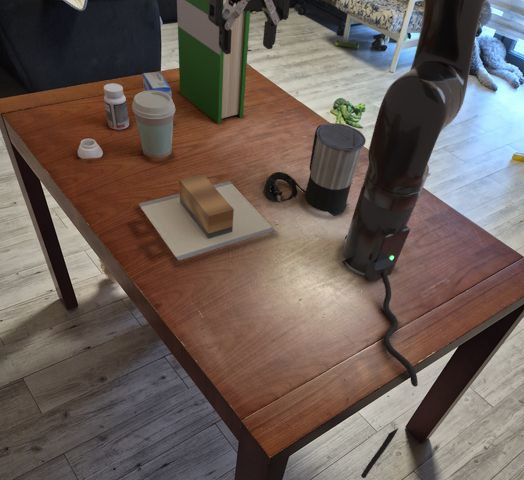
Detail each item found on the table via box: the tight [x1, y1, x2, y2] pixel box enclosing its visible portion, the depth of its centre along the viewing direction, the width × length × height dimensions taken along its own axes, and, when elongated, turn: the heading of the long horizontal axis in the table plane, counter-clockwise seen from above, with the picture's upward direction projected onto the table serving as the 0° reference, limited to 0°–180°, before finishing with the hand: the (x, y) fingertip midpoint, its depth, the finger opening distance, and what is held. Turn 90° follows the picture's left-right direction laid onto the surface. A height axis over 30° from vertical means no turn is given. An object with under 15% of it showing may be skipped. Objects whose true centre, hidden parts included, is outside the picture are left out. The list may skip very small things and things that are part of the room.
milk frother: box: [263, 122, 367, 217], centre depth 92 cm, size 14×16×15 cm
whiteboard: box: [138, 180, 276, 262], centre depth 89 cm, size 18×20×1 cm
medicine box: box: [142, 72, 173, 99], centre depth 109 cm, size 8×4×9 cm, turn 25°
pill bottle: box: [103, 82, 130, 131], centre depth 105 cm, size 5×5×8 cm
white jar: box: [77, 138, 104, 160], centre depth 98 cm, size 5×3×5 cm
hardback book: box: [176, 0, 251, 124], centre depth 110 cm, size 18×7×24 cm, turn 37°
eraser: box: [178, 173, 234, 239], centre depth 87 cm, size 12×5×5 cm, turn 32°
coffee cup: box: [131, 90, 176, 159], centre depth 98 cm, size 8×9×12 cm
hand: (247, 49), depth 82 cm, fingers open, 8 cm apart
